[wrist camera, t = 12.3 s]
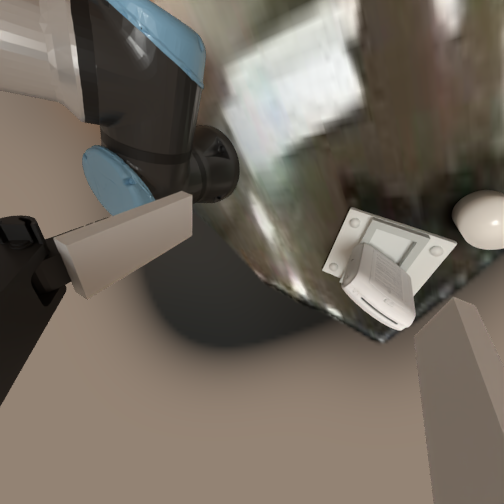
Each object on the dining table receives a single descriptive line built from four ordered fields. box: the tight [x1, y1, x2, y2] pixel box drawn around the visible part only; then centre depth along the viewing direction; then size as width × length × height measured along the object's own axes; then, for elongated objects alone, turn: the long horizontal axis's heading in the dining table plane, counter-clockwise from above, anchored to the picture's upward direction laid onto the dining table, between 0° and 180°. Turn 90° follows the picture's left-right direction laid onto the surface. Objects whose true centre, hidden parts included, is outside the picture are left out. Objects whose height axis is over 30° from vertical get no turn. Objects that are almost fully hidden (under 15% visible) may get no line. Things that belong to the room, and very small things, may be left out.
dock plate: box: [322, 207, 457, 296], centre depth 40 cm, size 16×14×2 cm
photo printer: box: [342, 243, 415, 330], centre depth 34 cm, size 10×4×12 cm, turn 61°
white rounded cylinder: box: [452, 190, 504, 250], centre depth 29 cm, size 6×6×6 cm
